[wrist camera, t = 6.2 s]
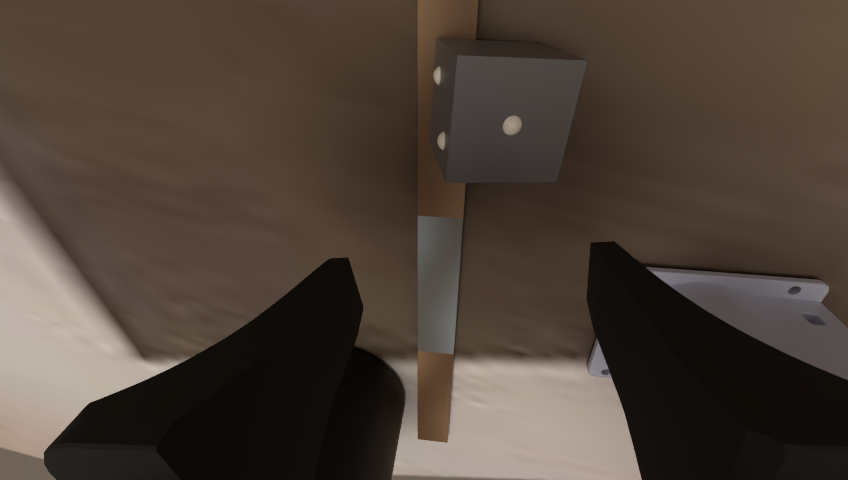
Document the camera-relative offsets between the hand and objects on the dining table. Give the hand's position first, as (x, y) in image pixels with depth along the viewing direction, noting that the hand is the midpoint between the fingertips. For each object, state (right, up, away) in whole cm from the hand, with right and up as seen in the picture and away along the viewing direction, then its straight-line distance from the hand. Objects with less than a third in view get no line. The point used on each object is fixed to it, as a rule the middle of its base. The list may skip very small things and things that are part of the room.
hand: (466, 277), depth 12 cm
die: (+1, +7, +4) cm, 8 cm away
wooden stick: (0, -1, +10) cm, 10 cm away
